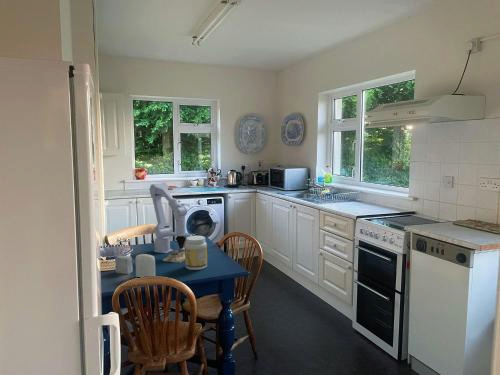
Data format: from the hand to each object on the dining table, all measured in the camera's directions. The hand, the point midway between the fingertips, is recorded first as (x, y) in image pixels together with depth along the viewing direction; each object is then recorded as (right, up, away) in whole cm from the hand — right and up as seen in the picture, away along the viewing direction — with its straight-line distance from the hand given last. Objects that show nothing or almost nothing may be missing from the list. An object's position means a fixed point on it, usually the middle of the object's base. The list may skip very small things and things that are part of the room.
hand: (181, 248), depth 233 cm
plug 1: (-3, -5, -6) cm, 8 cm away
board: (0, -5, +1) cm, 5 cm away
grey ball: (0, -4, 0) cm, 4 cm away
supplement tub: (+12, -8, -20) cm, 24 cm away
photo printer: (-12, -10, -35) cm, 39 cm away
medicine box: (-26, -9, -27) cm, 39 cm away
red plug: (+3, -1, +7) cm, 7 cm away
